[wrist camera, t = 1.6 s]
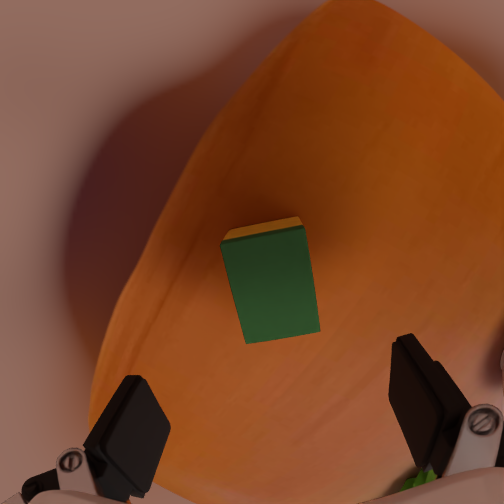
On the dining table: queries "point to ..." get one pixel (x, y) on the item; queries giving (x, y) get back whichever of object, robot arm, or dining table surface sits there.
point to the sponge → (271, 279)
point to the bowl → (502, 367)
